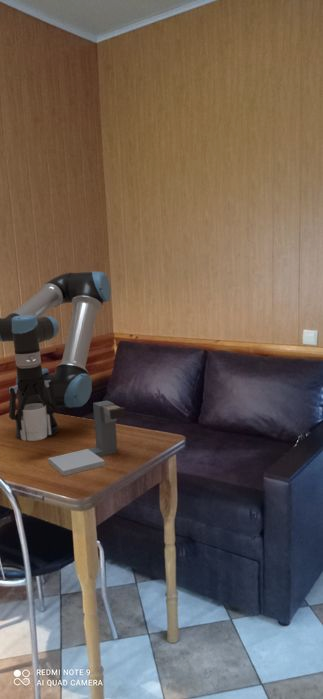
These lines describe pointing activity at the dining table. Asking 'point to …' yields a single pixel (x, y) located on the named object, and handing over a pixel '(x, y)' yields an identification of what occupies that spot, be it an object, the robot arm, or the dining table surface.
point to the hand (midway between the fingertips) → (36, 436)
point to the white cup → (35, 421)
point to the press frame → (91, 456)
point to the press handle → (112, 413)
